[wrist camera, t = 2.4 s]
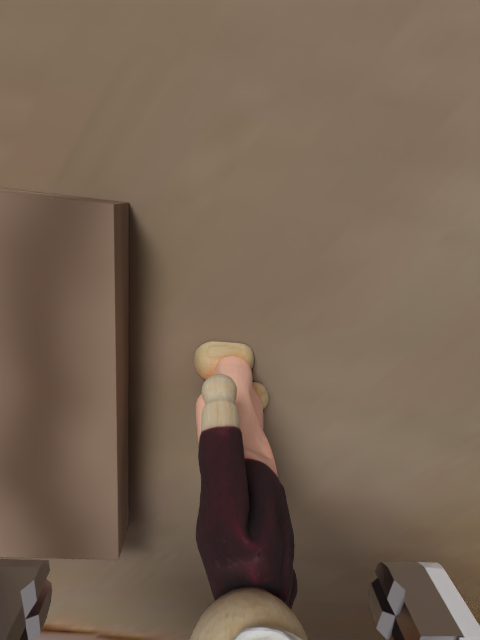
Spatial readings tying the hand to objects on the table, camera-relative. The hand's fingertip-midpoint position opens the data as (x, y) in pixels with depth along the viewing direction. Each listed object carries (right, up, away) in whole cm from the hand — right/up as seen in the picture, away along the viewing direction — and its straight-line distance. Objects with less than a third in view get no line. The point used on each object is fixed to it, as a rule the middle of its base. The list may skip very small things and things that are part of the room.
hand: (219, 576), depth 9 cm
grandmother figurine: (0, +3, +8) cm, 9 cm away
